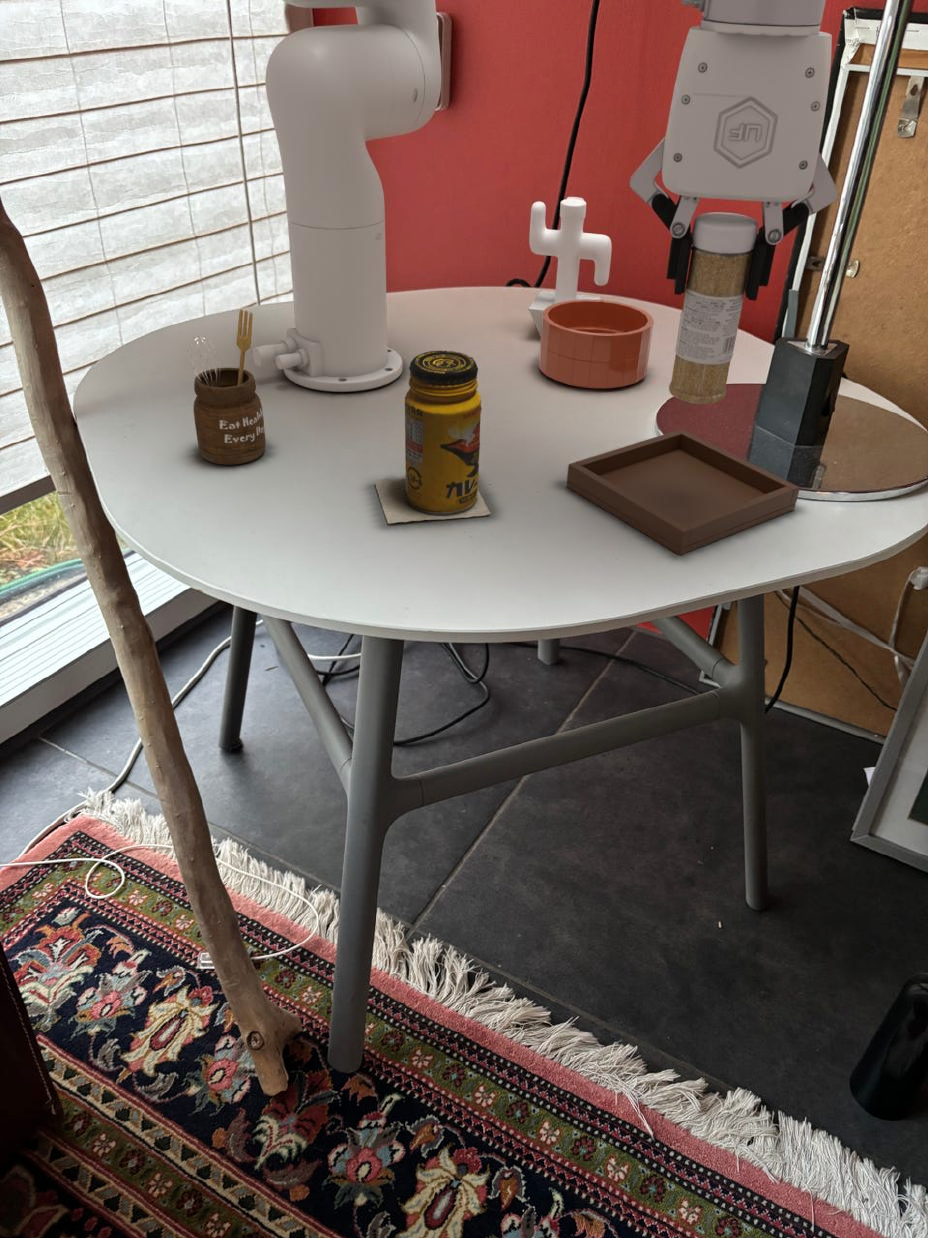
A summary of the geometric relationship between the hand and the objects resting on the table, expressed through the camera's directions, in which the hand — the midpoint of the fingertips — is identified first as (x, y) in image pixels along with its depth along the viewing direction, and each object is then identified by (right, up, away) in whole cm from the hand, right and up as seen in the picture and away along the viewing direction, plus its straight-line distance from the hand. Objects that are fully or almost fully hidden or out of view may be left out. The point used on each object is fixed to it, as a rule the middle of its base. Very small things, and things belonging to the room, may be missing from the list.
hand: (714, 289), depth 73 cm
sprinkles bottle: (0, -7, +5) cm, 9 cm away
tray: (0, -14, +10) cm, 18 cm away
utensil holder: (-39, -10, +15) cm, 43 cm away
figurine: (-7, +9, +43) cm, 45 cm away
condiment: (-22, -15, +9) cm, 27 cm away
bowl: (-5, +2, +33) cm, 34 cm away
